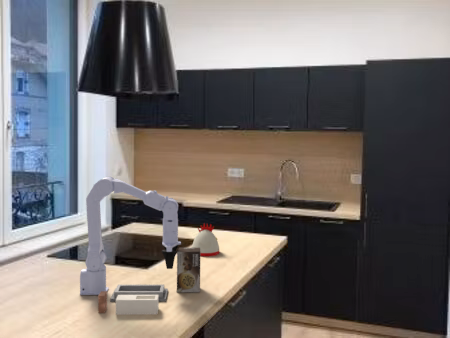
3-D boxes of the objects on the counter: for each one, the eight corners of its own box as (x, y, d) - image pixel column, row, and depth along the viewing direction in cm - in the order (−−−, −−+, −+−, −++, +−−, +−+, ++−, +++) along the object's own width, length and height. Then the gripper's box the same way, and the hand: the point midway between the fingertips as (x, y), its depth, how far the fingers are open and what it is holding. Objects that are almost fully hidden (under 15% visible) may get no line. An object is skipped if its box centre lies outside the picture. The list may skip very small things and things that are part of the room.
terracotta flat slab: (98, 313, 181) (98, 296, 181) (101, 308, 186) (101, 291, 186) (104, 313, 181) (104, 295, 181) (106, 308, 186) (106, 291, 186)
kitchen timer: (218, 256, 259) (219, 226, 258) (190, 256, 259) (190, 225, 258) (219, 249, 273) (219, 220, 271) (192, 249, 273) (192, 220, 272)
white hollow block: (157, 314, 181) (157, 300, 180) (115, 314, 180) (115, 300, 180) (158, 308, 186) (158, 294, 186) (118, 308, 186) (118, 294, 185)
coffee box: (199, 287, 210) (200, 247, 209) (200, 292, 204) (201, 251, 203) (176, 287, 210) (177, 246, 208) (176, 292, 203) (177, 250, 202)
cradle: (110, 301, 193) (110, 293, 192) (115, 291, 205) (115, 283, 204) (165, 301, 194) (165, 293, 193) (167, 290, 206) (167, 283, 205)
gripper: (180, 234, 195) (180, 271, 197) (181, 227, 210) (181, 260, 211) (160, 234, 195) (160, 271, 196) (163, 226, 210) (163, 260, 211)
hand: (170, 265), depth 204 cm, fingers open, 7 cm apart
